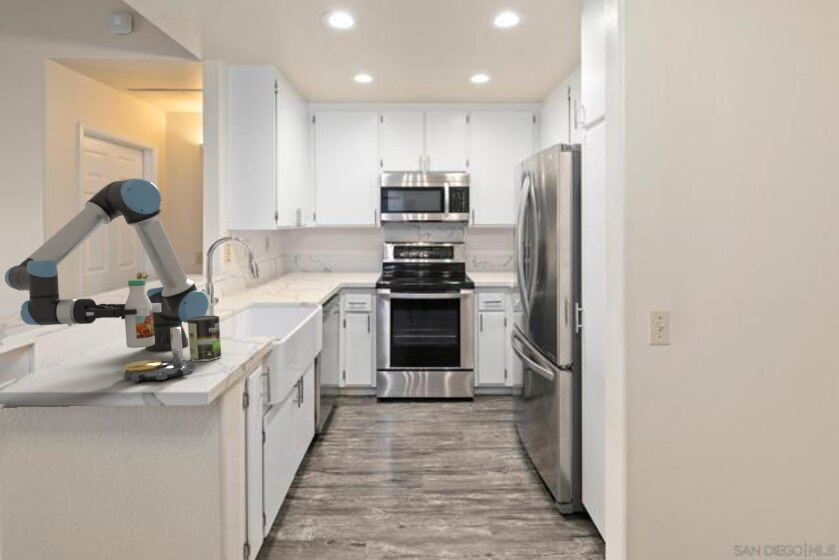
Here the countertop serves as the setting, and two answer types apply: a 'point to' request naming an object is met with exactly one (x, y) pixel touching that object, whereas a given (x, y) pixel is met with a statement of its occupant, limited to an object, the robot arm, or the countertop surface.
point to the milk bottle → (139, 317)
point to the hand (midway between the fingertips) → (154, 309)
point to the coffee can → (204, 338)
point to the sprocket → (161, 363)
